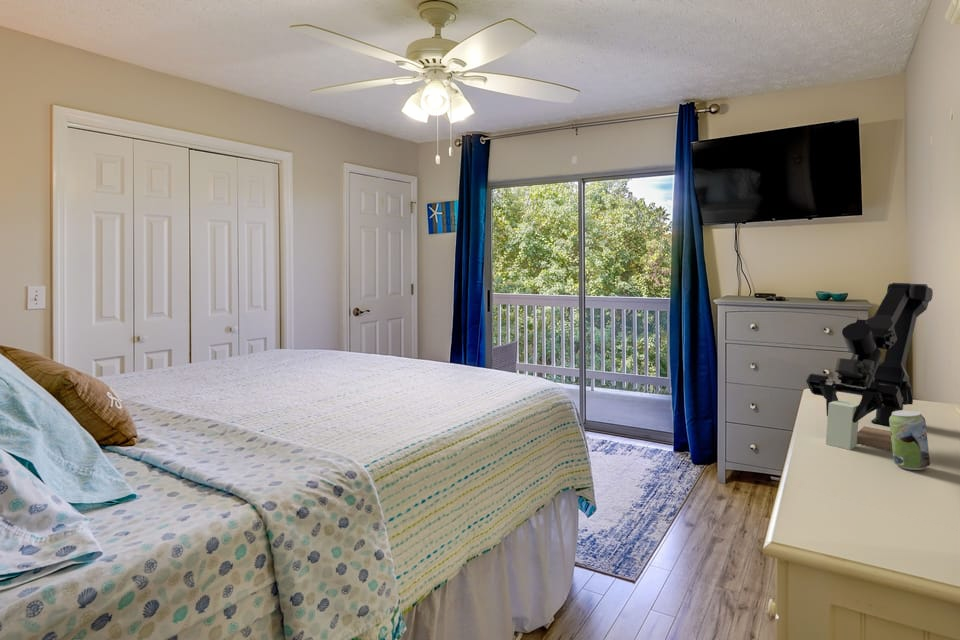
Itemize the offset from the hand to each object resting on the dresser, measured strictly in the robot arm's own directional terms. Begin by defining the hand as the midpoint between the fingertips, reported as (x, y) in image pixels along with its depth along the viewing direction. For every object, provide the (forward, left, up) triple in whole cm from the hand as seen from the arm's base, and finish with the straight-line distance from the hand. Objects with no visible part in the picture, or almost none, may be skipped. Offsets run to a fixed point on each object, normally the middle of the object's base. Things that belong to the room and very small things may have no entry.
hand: (840, 418), depth 129 cm
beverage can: (+5, +14, -7) cm, 16 cm away
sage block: (-1, 0, -7) cm, 7 cm away
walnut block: (-10, +7, -7) cm, 14 cm away
